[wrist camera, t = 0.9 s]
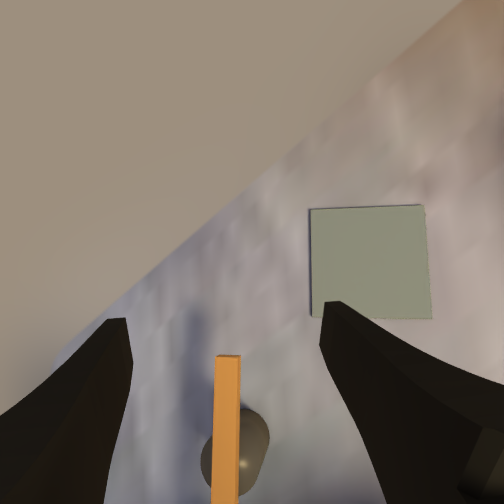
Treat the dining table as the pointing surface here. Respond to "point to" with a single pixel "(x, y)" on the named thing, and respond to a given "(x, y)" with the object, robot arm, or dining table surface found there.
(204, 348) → the dining table surface
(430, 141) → the dining table surface
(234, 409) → the bar
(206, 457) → the plug
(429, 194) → the dining table surface
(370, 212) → the mat
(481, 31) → the dining table surface
